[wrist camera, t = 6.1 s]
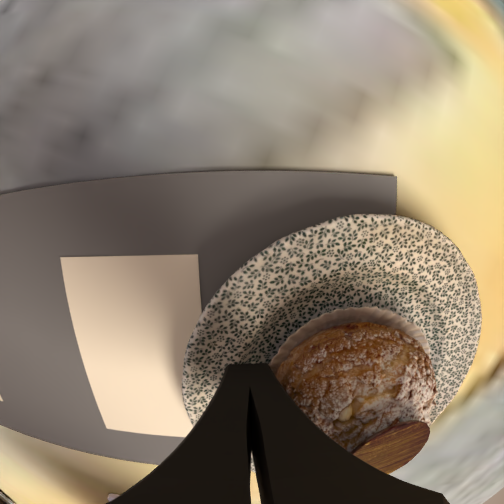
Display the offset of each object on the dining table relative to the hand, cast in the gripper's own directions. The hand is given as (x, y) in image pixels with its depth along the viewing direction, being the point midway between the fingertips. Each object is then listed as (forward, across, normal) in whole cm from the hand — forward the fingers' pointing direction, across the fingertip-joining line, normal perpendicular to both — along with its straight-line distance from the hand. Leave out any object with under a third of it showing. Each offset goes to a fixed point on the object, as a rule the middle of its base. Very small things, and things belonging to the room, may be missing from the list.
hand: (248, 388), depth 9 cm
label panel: (+2, +8, 0) cm, 8 cm away
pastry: (+2, -4, +1) cm, 4 cm away
